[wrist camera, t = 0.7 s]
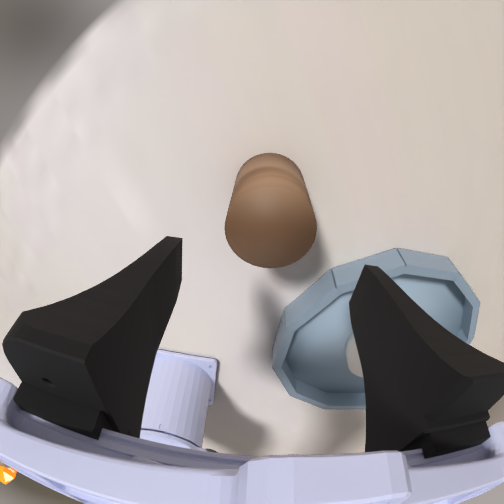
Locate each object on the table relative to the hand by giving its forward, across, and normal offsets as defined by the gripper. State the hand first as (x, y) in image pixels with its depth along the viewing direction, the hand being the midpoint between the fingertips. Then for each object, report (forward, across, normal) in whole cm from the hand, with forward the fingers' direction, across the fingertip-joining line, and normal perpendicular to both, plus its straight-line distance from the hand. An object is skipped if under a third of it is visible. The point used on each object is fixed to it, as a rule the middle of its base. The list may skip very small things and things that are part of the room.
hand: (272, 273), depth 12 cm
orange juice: (+9, +90, +124) cm, 154 cm away
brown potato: (+9, 0, 0) cm, 9 cm away
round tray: (+9, -13, +13) cm, 21 cm away
